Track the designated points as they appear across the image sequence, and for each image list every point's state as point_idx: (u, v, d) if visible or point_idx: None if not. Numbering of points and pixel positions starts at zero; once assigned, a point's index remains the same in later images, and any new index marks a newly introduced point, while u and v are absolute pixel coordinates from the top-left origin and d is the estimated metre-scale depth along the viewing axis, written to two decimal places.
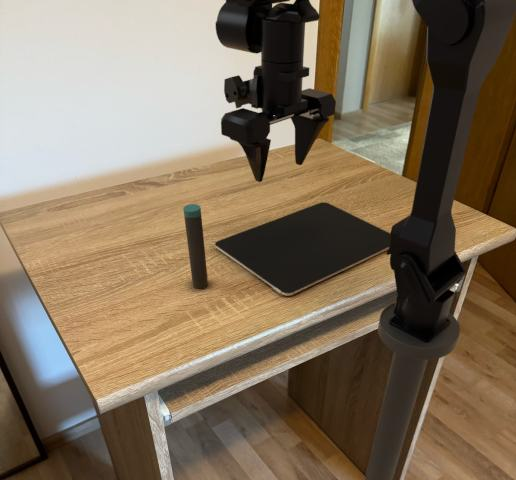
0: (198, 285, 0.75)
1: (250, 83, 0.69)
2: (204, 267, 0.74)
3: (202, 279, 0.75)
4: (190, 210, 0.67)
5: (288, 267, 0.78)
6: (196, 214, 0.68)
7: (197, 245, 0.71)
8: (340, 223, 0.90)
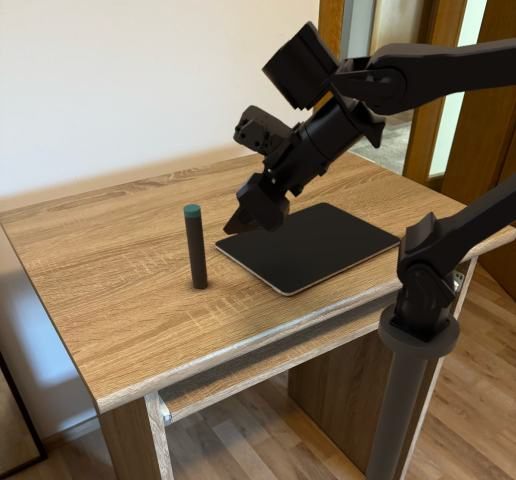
0: (198, 285, 0.75)
1: (275, 139, 0.57)
2: (204, 267, 0.74)
3: (202, 279, 0.75)
4: (190, 210, 0.67)
5: (288, 267, 0.78)
6: (196, 214, 0.68)
7: (197, 245, 0.71)
8: (340, 223, 0.90)
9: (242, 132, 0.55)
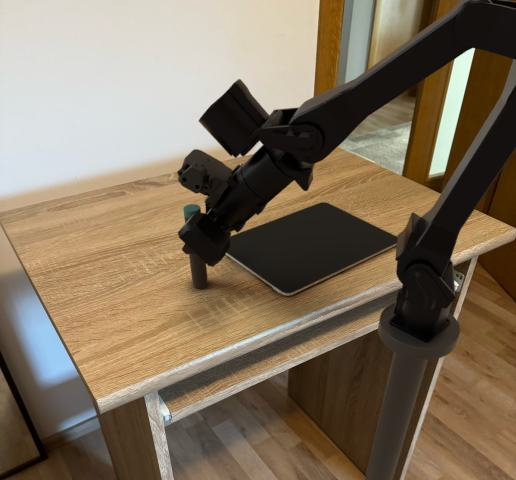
0: (198, 285, 0.75)
1: (214, 181, 0.62)
2: (204, 267, 0.74)
3: (202, 279, 0.75)
4: (190, 210, 0.67)
5: (288, 267, 0.78)
6: None
7: None
8: (340, 223, 0.90)
9: (183, 176, 0.60)
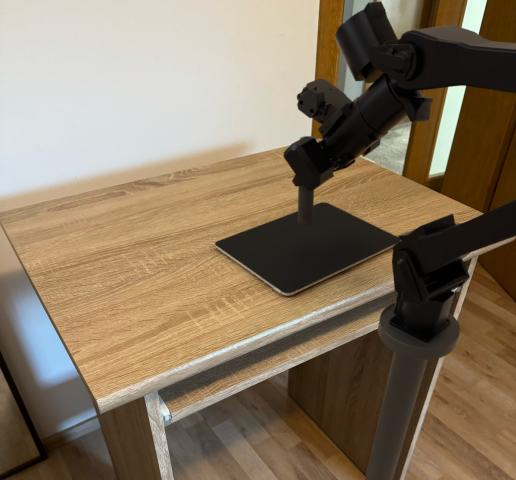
0: (302, 221, 0.77)
1: (330, 108, 0.63)
2: (310, 203, 0.75)
3: (306, 215, 0.76)
4: None
5: (288, 267, 0.78)
6: None
7: None
8: (340, 223, 0.90)
9: (300, 99, 0.62)
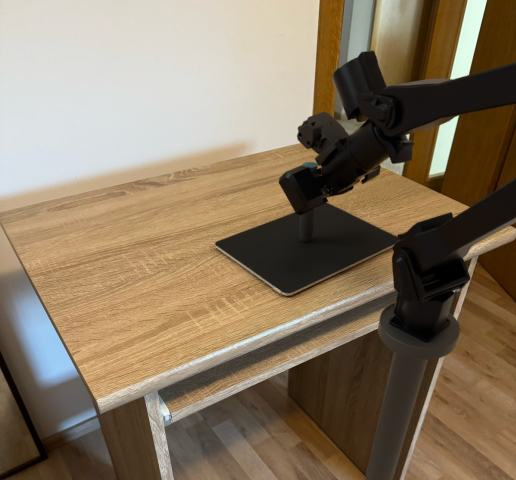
0: (302, 237, 0.84)
1: (326, 142, 0.69)
2: (310, 222, 0.82)
3: (306, 232, 0.83)
4: (307, 166, 0.76)
5: (288, 267, 0.78)
6: None
7: None
8: (340, 223, 0.90)
9: (299, 131, 0.69)
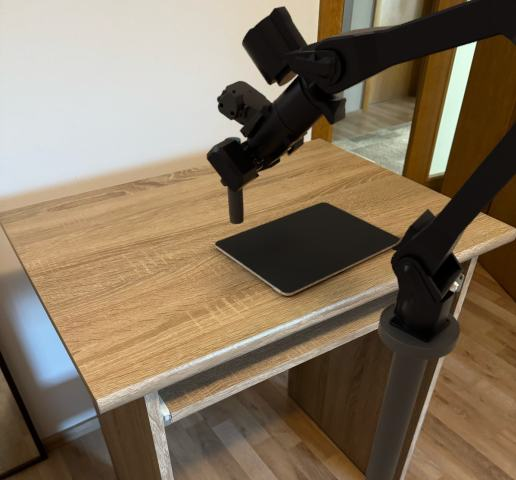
0: (233, 220, 0.78)
1: (250, 110, 0.64)
2: (240, 202, 0.77)
3: (237, 214, 0.78)
4: None
5: (288, 267, 0.78)
6: None
7: None
8: (340, 223, 0.90)
9: (220, 102, 0.64)
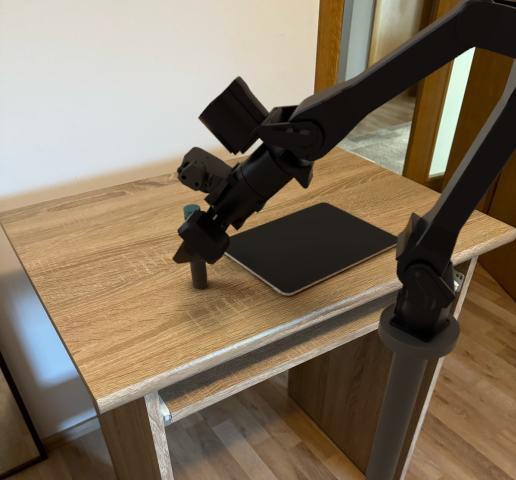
0: (198, 285, 0.75)
1: (214, 179, 0.62)
2: (204, 267, 0.74)
3: (202, 279, 0.75)
4: (190, 210, 0.67)
5: (288, 267, 0.78)
6: None
7: None
8: (340, 223, 0.90)
9: (183, 174, 0.60)
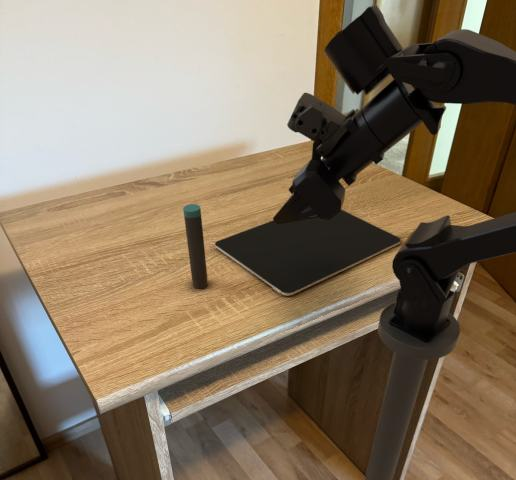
0: (198, 285, 0.75)
1: (331, 126, 0.56)
2: (204, 267, 0.74)
3: (202, 279, 0.75)
4: (190, 210, 0.67)
5: (288, 267, 0.78)
6: (196, 214, 0.68)
7: (197, 245, 0.71)
8: (340, 223, 0.90)
9: (299, 119, 0.55)
